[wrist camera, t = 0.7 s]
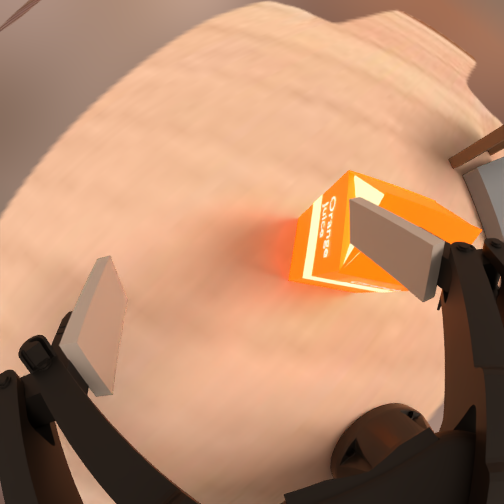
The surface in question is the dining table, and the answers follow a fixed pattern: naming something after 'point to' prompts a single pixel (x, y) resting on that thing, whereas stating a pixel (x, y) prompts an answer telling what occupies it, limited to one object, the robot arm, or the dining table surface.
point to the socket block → (489, 196)
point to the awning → (480, 147)
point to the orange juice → (338, 234)
